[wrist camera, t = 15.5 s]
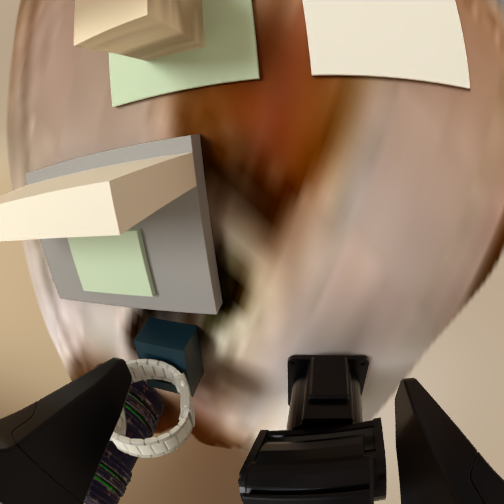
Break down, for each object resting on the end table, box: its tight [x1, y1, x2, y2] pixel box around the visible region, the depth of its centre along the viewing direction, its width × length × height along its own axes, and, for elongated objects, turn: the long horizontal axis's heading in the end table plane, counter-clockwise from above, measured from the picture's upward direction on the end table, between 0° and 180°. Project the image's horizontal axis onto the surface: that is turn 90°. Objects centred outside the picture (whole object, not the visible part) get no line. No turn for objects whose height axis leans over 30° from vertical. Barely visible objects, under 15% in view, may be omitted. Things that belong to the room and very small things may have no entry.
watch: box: [110, 318, 204, 458], centre depth 20 cm, size 6×8×11 cm
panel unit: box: [0, 134, 223, 314], centre depth 17 cm, size 12×16×10 cm
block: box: [74, 0, 205, 61], centre depth 11 cm, size 5×4×7 cm
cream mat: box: [303, 0, 470, 89], centre depth 12 cm, size 10×10×1 cm
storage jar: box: [84, 363, 164, 504], centre depth 24 cm, size 10×10×15 cm
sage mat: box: [109, 0, 260, 107], centre depth 14 cm, size 10×10×1 cm
